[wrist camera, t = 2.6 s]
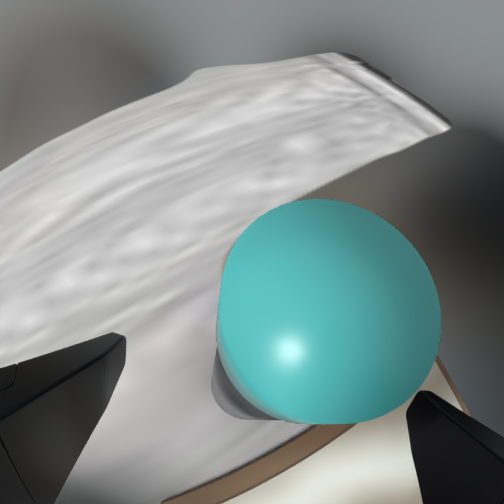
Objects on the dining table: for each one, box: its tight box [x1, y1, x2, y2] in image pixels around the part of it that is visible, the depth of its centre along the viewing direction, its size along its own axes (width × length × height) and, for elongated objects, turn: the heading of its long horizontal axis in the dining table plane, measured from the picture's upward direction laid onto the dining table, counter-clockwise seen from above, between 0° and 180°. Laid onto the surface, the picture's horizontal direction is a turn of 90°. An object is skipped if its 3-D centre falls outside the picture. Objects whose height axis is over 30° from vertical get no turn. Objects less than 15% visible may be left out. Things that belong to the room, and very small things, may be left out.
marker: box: [212, 199, 442, 424], centre depth 11 cm, size 4×4×13 cm
